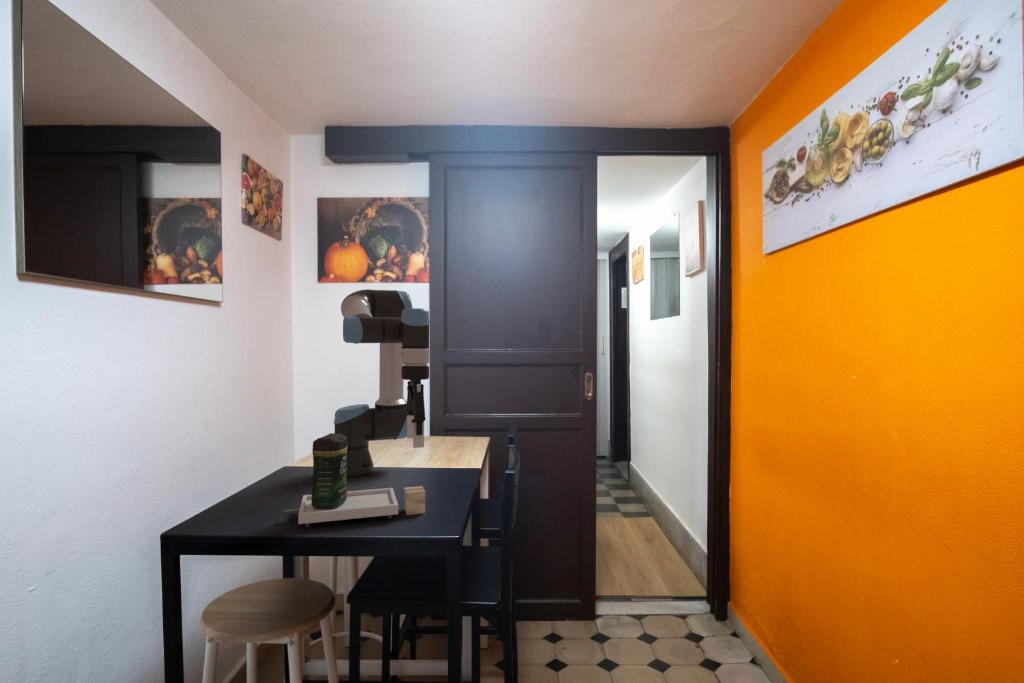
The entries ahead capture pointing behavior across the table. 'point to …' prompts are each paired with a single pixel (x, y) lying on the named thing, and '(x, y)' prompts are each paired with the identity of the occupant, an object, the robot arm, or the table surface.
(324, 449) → the coffee jar
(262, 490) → the table surface
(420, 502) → the beech block
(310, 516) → the white shallow tray
